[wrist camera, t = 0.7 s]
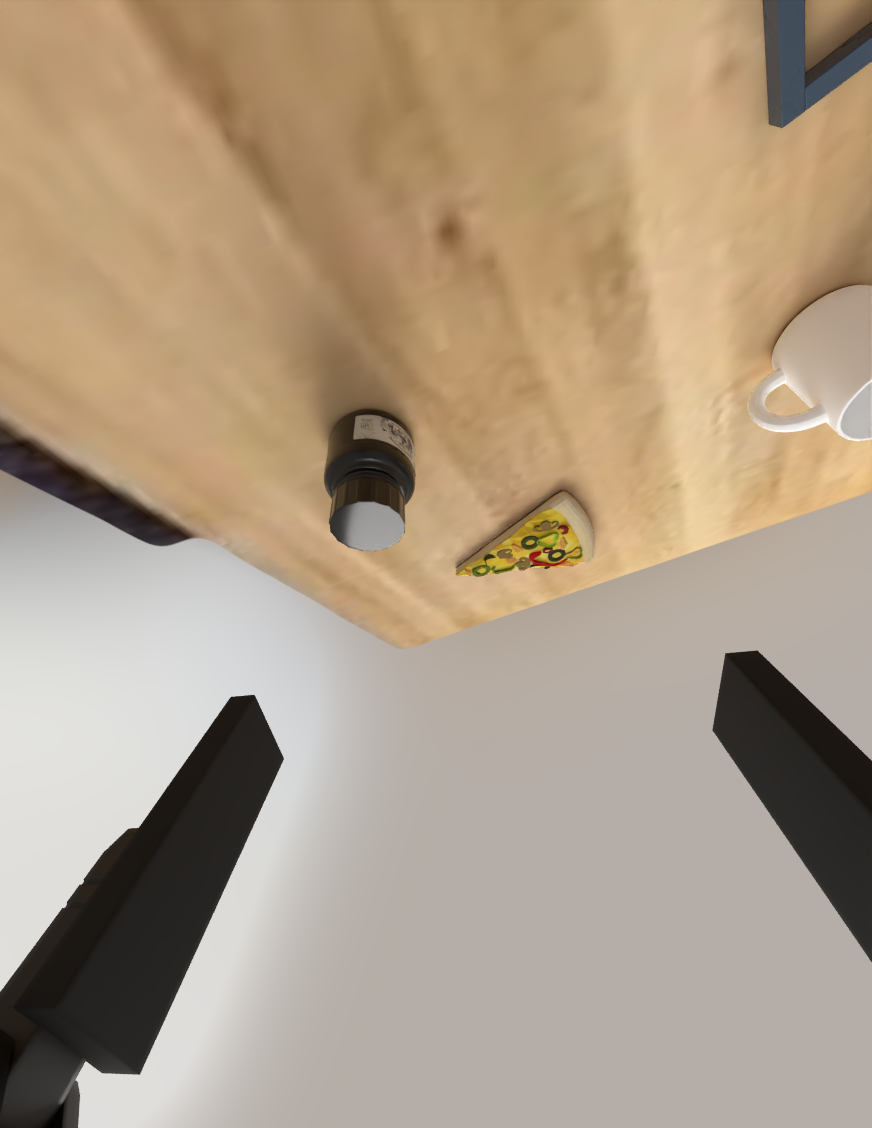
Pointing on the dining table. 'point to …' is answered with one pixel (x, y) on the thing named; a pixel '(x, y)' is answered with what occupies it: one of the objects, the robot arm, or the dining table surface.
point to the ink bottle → (369, 480)
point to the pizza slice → (538, 541)
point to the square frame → (803, 62)
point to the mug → (824, 367)
